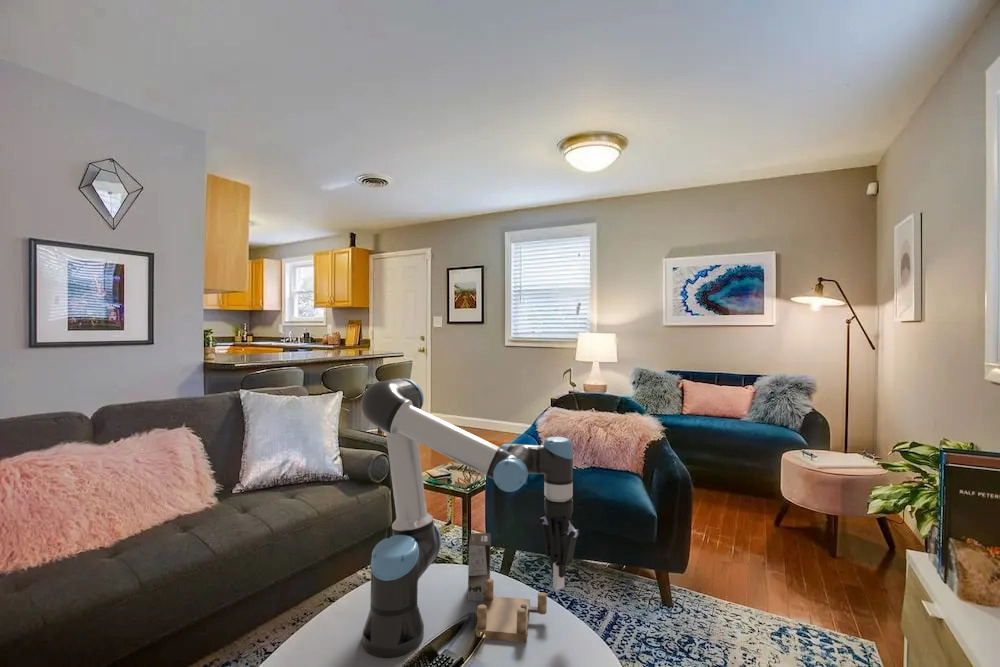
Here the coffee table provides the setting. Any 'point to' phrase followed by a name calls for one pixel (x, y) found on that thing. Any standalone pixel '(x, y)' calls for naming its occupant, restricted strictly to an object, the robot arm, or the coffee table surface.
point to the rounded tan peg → (540, 604)
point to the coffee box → (478, 565)
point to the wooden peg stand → (502, 616)
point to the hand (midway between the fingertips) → (558, 587)
